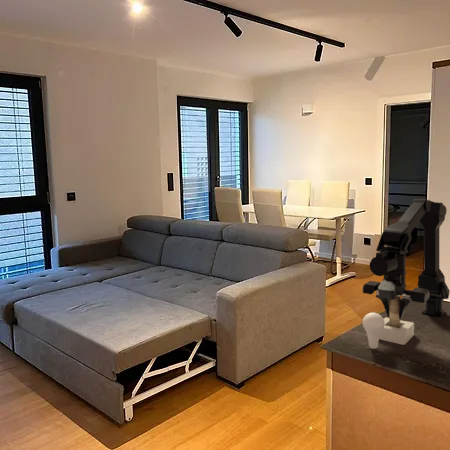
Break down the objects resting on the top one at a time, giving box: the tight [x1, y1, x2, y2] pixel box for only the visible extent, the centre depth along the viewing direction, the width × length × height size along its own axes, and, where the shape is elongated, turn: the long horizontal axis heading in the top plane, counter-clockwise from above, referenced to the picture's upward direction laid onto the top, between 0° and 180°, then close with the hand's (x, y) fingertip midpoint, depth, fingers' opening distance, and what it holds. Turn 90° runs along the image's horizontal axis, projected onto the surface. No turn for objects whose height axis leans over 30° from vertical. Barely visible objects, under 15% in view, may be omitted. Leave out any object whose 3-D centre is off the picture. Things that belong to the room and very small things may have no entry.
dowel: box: [388, 295, 402, 328], centre depth 140 cm, size 3×3×10 cm
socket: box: [379, 317, 415, 346], centre depth 141 cm, size 9×9×4 cm
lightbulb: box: [362, 312, 385, 350], centre depth 133 cm, size 6×6×11 cm
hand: (394, 317), depth 141 cm, fingers closed on dowel, 3 cm apart
